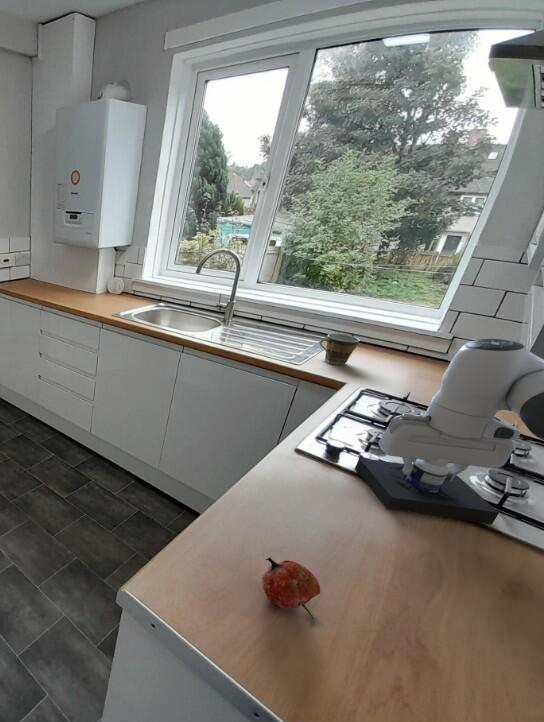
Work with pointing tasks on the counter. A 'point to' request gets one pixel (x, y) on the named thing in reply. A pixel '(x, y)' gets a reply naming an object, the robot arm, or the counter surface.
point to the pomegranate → (289, 584)
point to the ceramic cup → (339, 348)
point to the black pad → (424, 494)
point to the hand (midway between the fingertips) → (426, 476)
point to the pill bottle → (429, 474)
